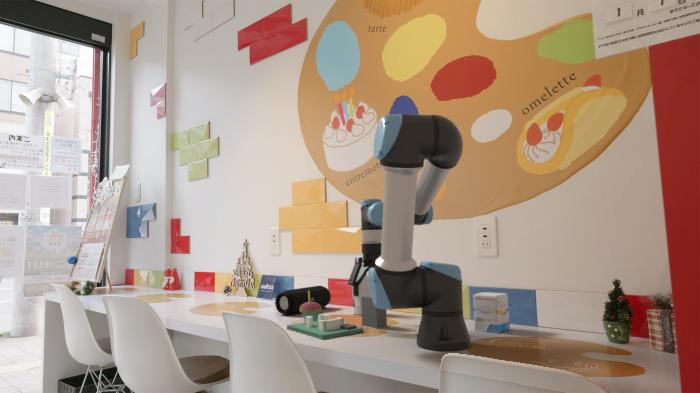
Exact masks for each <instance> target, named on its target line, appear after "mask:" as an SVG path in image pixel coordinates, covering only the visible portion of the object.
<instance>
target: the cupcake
mask: <svg viewBox="0 0 700 393" xmlns="http://www.w3.org/2000/svg"><path fill="white" fill-rule="evenodd" d="M308 300H309V302H306V303H304V304H302V305H301V306H300V312H302V313H301V314H302V317H303V320H304V321H305V317H307V316H313V321H318V315H321V314H320V313H321V312H322V311H323V308H322V307H321V305H320V304H318V303H316V302H310V291H309V289H308Z"/></svg>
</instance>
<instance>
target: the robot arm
mask: <svg viewBox="0 0 700 393" xmlns="http://www.w3.org/2000/svg"><path fill="white" fill-rule="evenodd" d="M463 140H464V139H463V136H462V133H461V132H460V130H459V128H458V127H457V125H456V123H454V122H453V121H452V120H451V119H450V118H447V117H445V116H443V115H439V114H413V113H410V114H408V113H407V114H406V113H405V114H404V113H396V114H394V113H393V114H385V115H383V116H382V117H381V118H380V119H379V121H378V123H377V126H376V129H375V133H374V139H373V156H374V158H375V159H377V160H378V161H379V166H380V167H381V168H382V169H383V171H384V183H383V184H384V185H383V187H384V188H383V202H382V200H381V199H380V198H365V199H362V200H361V202H360V208H359V209H360V222H361V226H360V227H361V242H363V243H362V244H361V254H362V257H360V256H356V257H355V260H354V264H353V268H352V270H351V273H350V276H349V278H348V280H347V281H348V282H347V284H348V285H349V286H351V287H352V286H353V295H354V296H355V305H356V306H362V302H361V287H360V286H359V285H360V283H361V282H362V280H363V278H364V277H365V275H366V273H367V275H368V278H369V287H370V292H371V297H372V300H373V303H374V305H375V306H376V307H377V308H378V309H386V310H390V311H392V310H405V309H406V310H407V309H421V319H420V321H419V322H420V323H419V326H418V327H419V328H418V332H417V333H416V345H417V346H418V347H420V348H423V349H427V350H432V351H433V350H434V351H460V350H466V349H469V348H470V347H471V346H472V342H471V341H472V339H471V335H470V333H469V330H468V327H467V324H466V321H465V318H464V303H463V302H464V301H463V297H464V296H463V278H462V271H461V267H460V266H458V265H456V264H452V263H442V262H434V261H424V260H421V261H420V263H419V266H418V263H417V261H416V259H414V258H413V247H414V244H413V243H414V242H413V241H414V229H415V226H422V225H430V224H431V223H432V222H433V217H434V208H433V206H432V205H433V203H434V201H435V199H436V197H437V195H438V194H439V191H440V190H441V188H442V186H443V184H444V182H445V181H446V178H447V176H448V174H449V173H450V170H452V169H454V168H456V166H457V165H458V163H459V161H460V159H461V158H462V155H463V150H464V141H463ZM418 173H419V174H418ZM362 264H363V265H362ZM361 266H362V267H361ZM360 269H361V270H360ZM359 271H360V272H359Z"/></svg>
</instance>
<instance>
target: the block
mask: <svg viewBox="0 0 700 393" xmlns="http://www.w3.org/2000/svg"><path fill="white" fill-rule="evenodd" d="M361 298H362V315H361V326H362V325H363V327H368V328H371V329H377V330H378V329H383V328H387V326H388V324H387V322H388V320H387V309H378V308H377V307H376V306H375V305H374V303H373V300H372V297H371V296H363V297H361Z"/></svg>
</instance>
